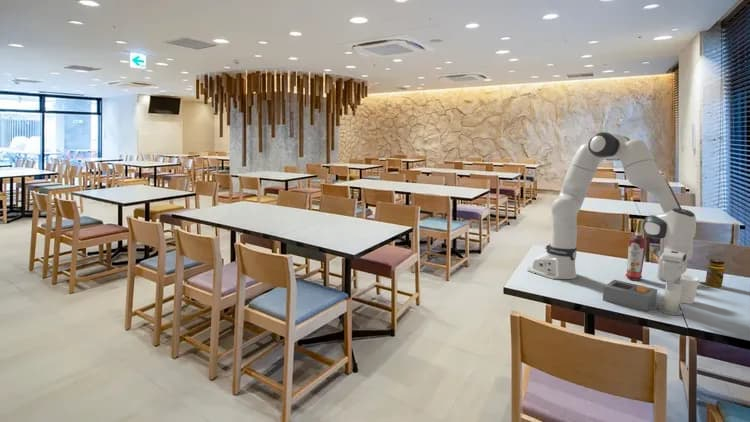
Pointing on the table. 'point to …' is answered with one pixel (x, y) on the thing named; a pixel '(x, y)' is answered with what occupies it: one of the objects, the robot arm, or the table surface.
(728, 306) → the table surface
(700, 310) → the table surface
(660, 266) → the can
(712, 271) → the condiment
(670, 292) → the cartridge
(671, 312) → the coaster
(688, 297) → the white cup
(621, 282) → the housing
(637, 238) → the liquor
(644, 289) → the orange round ball
